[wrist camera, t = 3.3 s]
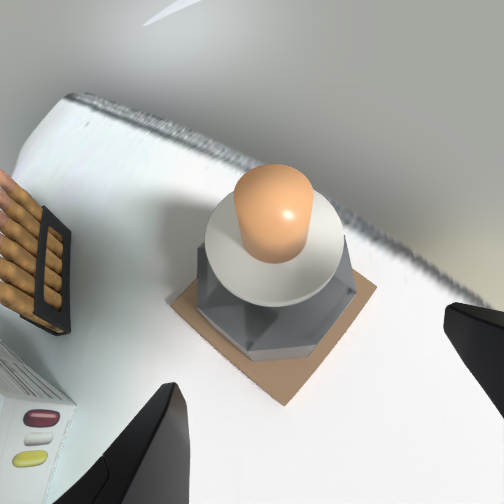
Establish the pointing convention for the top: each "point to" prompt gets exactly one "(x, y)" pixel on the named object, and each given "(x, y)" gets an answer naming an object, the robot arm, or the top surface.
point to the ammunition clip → (33, 260)
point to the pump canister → (274, 325)
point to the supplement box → (29, 430)
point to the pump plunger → (274, 238)
